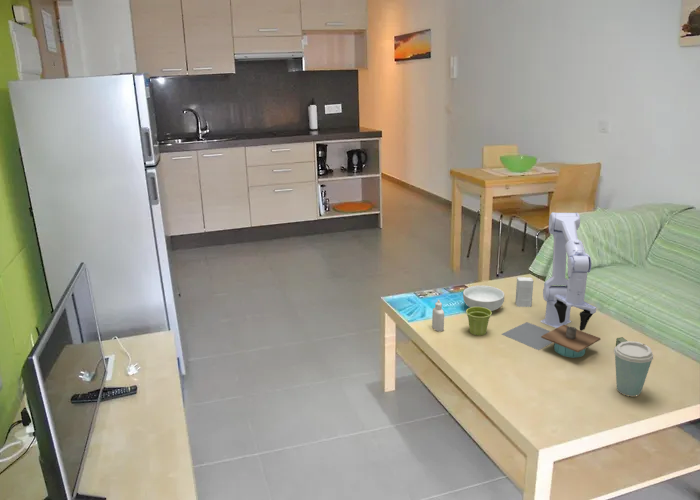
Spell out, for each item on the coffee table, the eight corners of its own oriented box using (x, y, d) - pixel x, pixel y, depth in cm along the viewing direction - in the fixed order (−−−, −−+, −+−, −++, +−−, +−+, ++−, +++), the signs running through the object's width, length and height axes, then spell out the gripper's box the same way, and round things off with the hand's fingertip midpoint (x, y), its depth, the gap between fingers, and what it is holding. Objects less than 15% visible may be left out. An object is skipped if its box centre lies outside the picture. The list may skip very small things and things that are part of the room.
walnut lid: (563, 326, 200) (564, 316, 198) (600, 339, 189) (601, 329, 188) (541, 337, 192) (542, 327, 190) (578, 352, 181) (579, 342, 180)
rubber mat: (526, 322, 214) (526, 322, 214) (563, 337, 202) (564, 336, 202) (501, 335, 205) (501, 334, 205) (538, 351, 193) (538, 350, 193)
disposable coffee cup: (629, 404, 161) (636, 359, 157) (600, 386, 171) (606, 343, 166) (655, 395, 165) (662, 351, 161) (625, 378, 175) (631, 336, 170)
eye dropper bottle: (443, 325, 213) (444, 297, 210) (443, 332, 208) (444, 303, 204) (432, 325, 214) (432, 297, 210) (432, 331, 209) (433, 302, 205)
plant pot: (462, 336, 205) (463, 315, 202) (467, 325, 213) (468, 305, 210) (488, 340, 201) (489, 318, 199) (492, 329, 210) (493, 308, 207)
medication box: (614, 347, 194) (615, 337, 193) (621, 346, 195) (622, 336, 193) (638, 364, 183) (639, 354, 182) (645, 363, 183) (646, 353, 182)
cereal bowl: (461, 299, 237) (462, 284, 235) (500, 300, 235) (501, 285, 233) (463, 316, 221) (464, 300, 219) (506, 317, 219) (507, 301, 217)
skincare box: (529, 303, 231) (531, 277, 228) (531, 307, 227) (533, 280, 224) (514, 303, 232) (516, 276, 228) (516, 307, 228) (518, 280, 224)
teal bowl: (564, 341, 199) (565, 329, 197) (590, 352, 191) (591, 339, 190) (548, 350, 193) (549, 337, 191) (574, 361, 185) (576, 348, 184)
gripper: (550, 286, 188) (546, 322, 192) (590, 298, 177) (585, 336, 181) (561, 281, 192) (558, 316, 196) (601, 293, 181) (596, 330, 185)
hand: (572, 325), depth 189 cm, fingers open, 7 cm apart
